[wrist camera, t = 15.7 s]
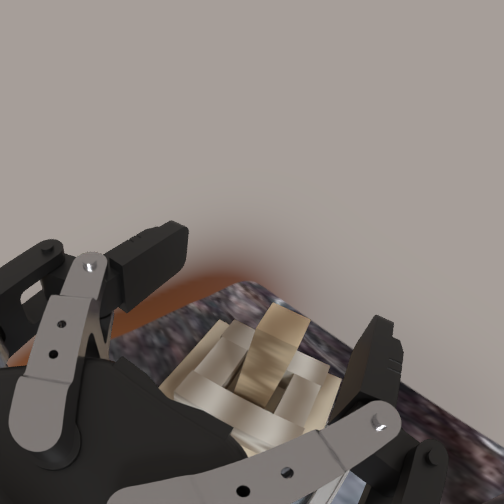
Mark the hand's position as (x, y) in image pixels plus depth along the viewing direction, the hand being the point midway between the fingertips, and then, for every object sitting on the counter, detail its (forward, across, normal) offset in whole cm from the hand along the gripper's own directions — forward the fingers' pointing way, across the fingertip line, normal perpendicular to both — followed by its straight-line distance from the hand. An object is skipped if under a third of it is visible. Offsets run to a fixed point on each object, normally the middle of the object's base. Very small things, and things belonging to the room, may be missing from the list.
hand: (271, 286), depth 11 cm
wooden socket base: (+11, 0, +28) cm, 30 cm away
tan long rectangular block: (+11, 0, +26) cm, 28 cm away
